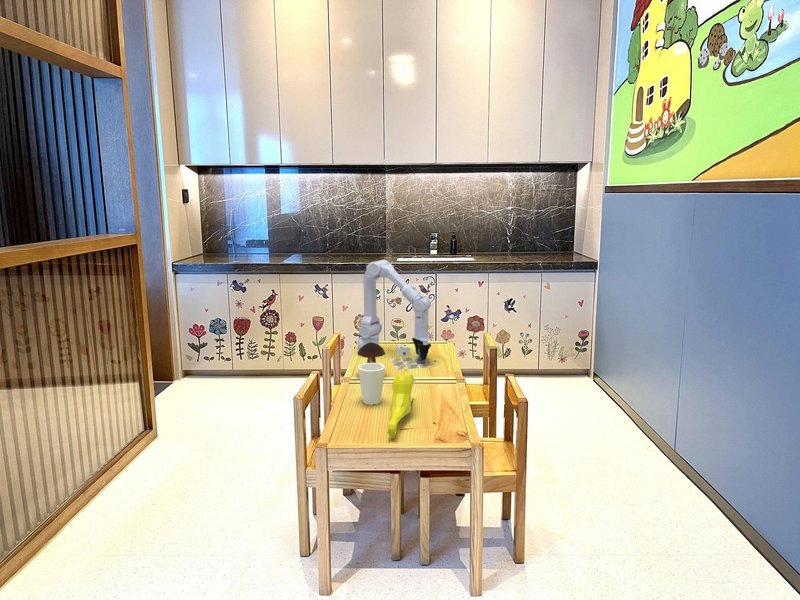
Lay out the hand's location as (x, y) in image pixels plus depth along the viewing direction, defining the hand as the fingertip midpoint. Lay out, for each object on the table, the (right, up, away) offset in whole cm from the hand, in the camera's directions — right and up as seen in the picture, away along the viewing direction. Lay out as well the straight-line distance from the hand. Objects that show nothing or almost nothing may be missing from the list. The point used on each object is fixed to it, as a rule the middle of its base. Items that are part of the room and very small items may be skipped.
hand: (421, 356), depth 244 cm
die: (-8, -1, +12) cm, 14 cm away
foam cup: (-19, -12, -41) cm, 47 cm away
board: (-5, -4, 0) cm, 6 cm away
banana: (-9, -15, -55) cm, 57 cm away
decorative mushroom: (-20, -7, -17) cm, 28 cm away
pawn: (0, -2, 0) cm, 2 cm away
